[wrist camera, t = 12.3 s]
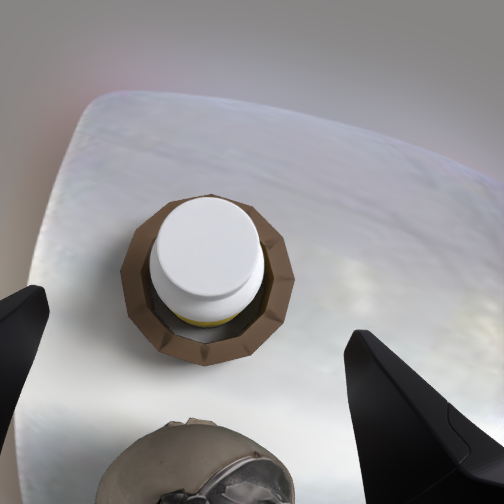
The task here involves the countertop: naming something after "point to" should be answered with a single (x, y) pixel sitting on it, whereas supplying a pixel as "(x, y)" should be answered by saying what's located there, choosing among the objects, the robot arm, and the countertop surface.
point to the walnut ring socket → (244, 344)
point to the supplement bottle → (207, 261)
